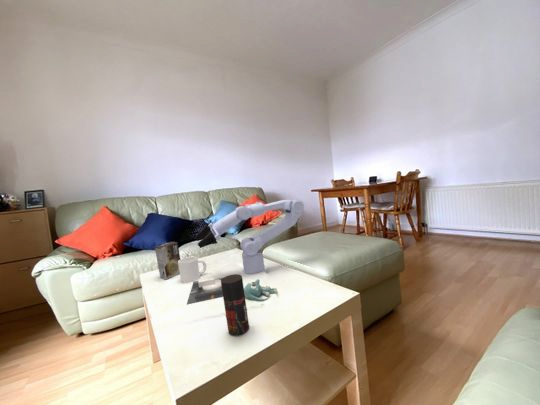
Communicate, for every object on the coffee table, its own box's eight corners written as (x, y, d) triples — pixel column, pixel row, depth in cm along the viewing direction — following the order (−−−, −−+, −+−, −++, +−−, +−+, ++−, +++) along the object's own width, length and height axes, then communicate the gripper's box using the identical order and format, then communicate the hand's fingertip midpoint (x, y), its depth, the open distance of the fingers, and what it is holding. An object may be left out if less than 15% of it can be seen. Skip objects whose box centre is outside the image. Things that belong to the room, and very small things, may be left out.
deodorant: (229, 324, 70) (222, 276, 69) (249, 321, 70) (242, 273, 69) (227, 337, 64) (219, 284, 63) (249, 334, 64) (241, 281, 63)
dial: (223, 282, 99) (222, 273, 98) (223, 290, 91) (222, 280, 90) (195, 288, 97) (194, 278, 96) (193, 296, 89) (191, 286, 88)
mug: (205, 273, 116) (202, 253, 115) (210, 278, 109) (207, 256, 108) (180, 281, 110) (176, 259, 109) (183, 287, 102) (179, 264, 102)
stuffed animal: (280, 286, 79) (244, 285, 78) (279, 306, 80) (243, 306, 78) (275, 274, 90) (244, 273, 89) (274, 292, 90) (243, 292, 89)
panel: (235, 278, 105) (234, 272, 104) (237, 296, 87) (236, 289, 87) (193, 286, 101) (192, 280, 101) (187, 307, 84) (185, 300, 83)
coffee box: (176, 271, 125) (171, 241, 123) (183, 272, 121) (178, 241, 120) (159, 278, 118) (154, 246, 116) (166, 279, 114) (161, 247, 112)
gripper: (216, 212, 108) (190, 229, 105) (224, 222, 95) (194, 242, 92) (224, 224, 111) (198, 241, 108) (232, 235, 98) (204, 255, 95)
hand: (197, 242), depth 100 cm, fingers open, 7 cm apart
